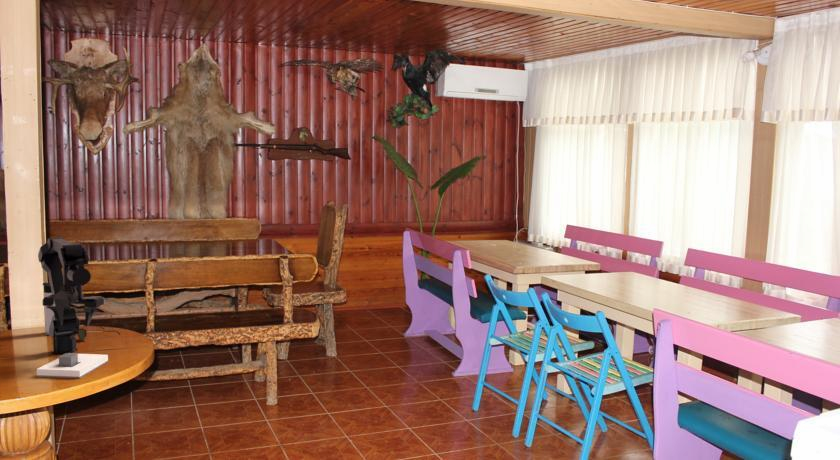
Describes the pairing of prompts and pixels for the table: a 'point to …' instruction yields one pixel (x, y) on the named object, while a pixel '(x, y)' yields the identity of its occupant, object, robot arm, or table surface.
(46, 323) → the travel mug
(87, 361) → the socket plate
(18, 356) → the table surface
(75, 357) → the block
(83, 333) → the sunglasses
